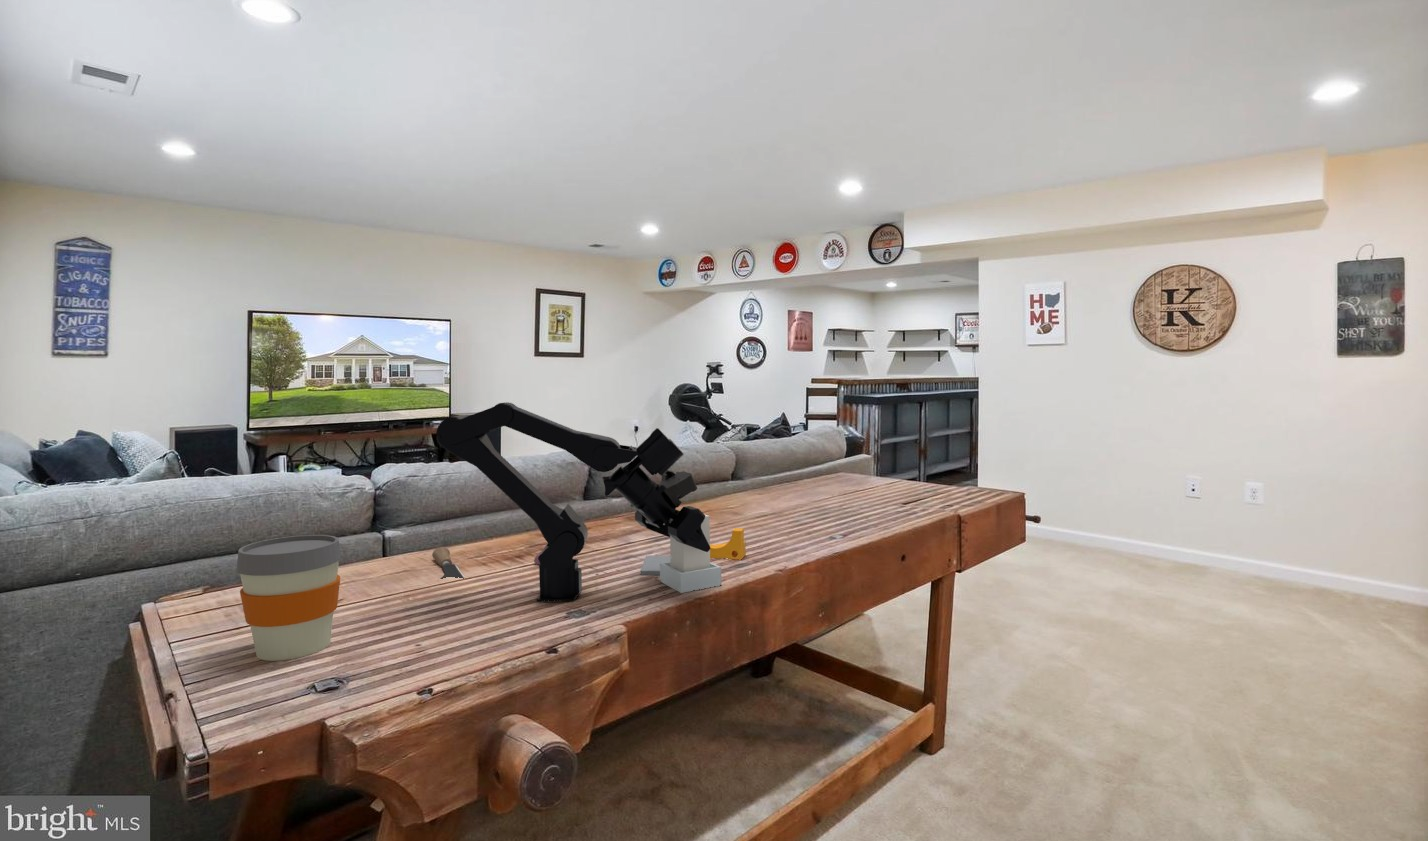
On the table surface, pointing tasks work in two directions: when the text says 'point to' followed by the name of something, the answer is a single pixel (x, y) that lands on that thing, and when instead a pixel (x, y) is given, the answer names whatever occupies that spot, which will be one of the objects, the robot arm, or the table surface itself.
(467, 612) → the table surface
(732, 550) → the pipe clamp
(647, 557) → the mat
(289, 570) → the reusable coffee cup
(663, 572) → the sleeve
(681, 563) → the tall block
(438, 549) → the hand tool
